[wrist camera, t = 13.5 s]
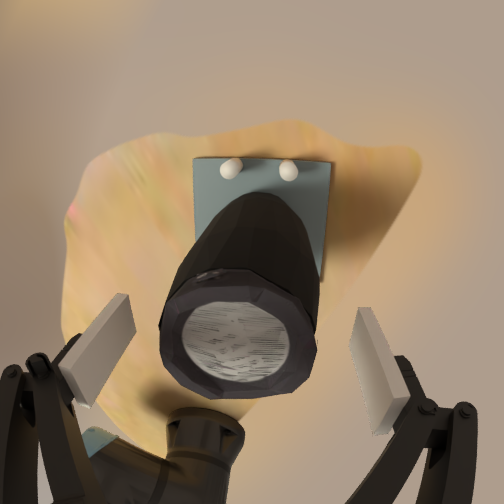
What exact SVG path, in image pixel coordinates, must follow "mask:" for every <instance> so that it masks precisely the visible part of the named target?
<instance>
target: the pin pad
mask: <svg viewBox="0 0 504 504" xmlns="http://www.w3.org/2000/svg"><path fill="white" fill-rule="evenodd" d="M330 170H331V163H330V162H319V161H305V160H289V159H265V158H194V159H193V193H194V219H195V239H196V241H197V240H198V239H199V237H200V236H201V234H202V233H203V232H204V230H205V229H206V228H207V226H208V225H209V223H210V222H211V221H212V219H213V218H214V217H215V216H216V215H217V214H218V213H219V212H220V211H221V210H222V209H223V208H224V207H226V206H227V205H228V204H229V203H230V202H231V201H233V200H234V199H236V198H238V197H239V196H241V195H243V194H246V193H250V192H263V193H271V194H273V195H276V196H279V197H280V198H281V199H282V200H283V201H284V202H285V203H286V204H287V205H288V206H289V207H290V208H291V209H292V210H293V211H294V212H295V213H296V214H297V215H298V216H299V217H300V218H301V220H302V222H303V224H304V226H305V228H306V230H307V233H308V237H309V240H310V244H311V248H312V251H313V255H314V259H315V263H316V266H317V270H318V274H319V278H320V271H321V264H322V256H323V247H324V238H325V229H326V219H327V208H328V197H329V184H330Z"/></svg>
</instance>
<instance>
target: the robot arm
mask: <svg viewBox="0 0 504 504" xmlns="http://www.w3.org/2000/svg"><path fill="white" fill-rule="evenodd" d="M135 333H136V327H135V323H134V319H133V314H132V310H131V305H130V300H129V295H128V294H121V293H117V294H116V295H115V296H114V298H113V299H112V300H111V301H110V302H109V303H108V304H107V306H106V307H105V308H104V309H103V310H102V311H101V313H100V314H99V315H98V316H97V317H96V319H95V320H94V321H93V322H92V323H91V324H90V326H89V327H88V328H87V329H86V331H85V332H84V333H83V334H80V333H78V334H77V335H75V336H74V337H72V338H71V339H70V340H69V342H68V343H67V345H65V347H64V348H63V350H61V352H60V353H59V354H58V355H57V356H56V358H55V359H54V360H53V361H52V363H50V361H49V359H48V357H47V355H46V354H44V353H35V354H33V355H31V356H30V357H28V359H27V360H26V363H25V364H26V367H27V369H28V370H29V372H30V373H27V372H23V370H22V369H21V367H20V366H19V365H15V364H13V365H10V366H8V367H6V369H4V371H3V373H2V376H1V379H0V504H38V489H37V466H38V443H39V442H40V447H41V452H42V457H43V461H44V466H45V470H46V474H47V478H48V482H49V485H50V489H51V493H52V496H53V500H54V501H53V503H52V504H226V499H227V492H228V485H229V478H230V470H231V466H232V465H233V463H234V461H235V459H236V458H237V456H238V454H239V452H240V451H241V449H242V447H243V444H244V440H245V431H244V429H243V427H242V426H241V425H240V424H239V423H238V422H237V421H236V420H234V419H232V418H231V417H229V416H227V415H224V414H222V413H219V412H216V411H212V410H208V409H202V408H183V409H179V410H176V411H174V412H172V413H171V414H170V416H169V419H168V421H167V424H166V437H167V456H166V459H163V458H161V457H158V456H156V455H154V454H152V453H149V452H147V451H145V450H143V449H140V448H138V447H136V446H134V445H132V444H130V443H128V442H126V441H125V440H123V439H121V438H119V436H118V435H113V434H111V433H109V432H107V431H105V430H103V429H101V428H99V427H90V428H88V429H87V430H86V431H85V432H84V433H83V434H82V435H81V432H80V429H79V425H78V421H77V418H76V414H75V410H74V406H73V404H72V402H71V401H72V400H73V398H74V397H75V399H76V401H77V403H78V404H79V405H81V406H85V407H87V408H91V407H92V405H93V403H94V402H95V400H96V398H97V396H98V395H99V393H100V391H101V389H102V388H103V386H104V384H105V383H106V381H107V379H108V378H109V376H110V374H111V372H112V371H113V369H114V367H115V366H116V364H117V362H118V361H119V359H120V358H121V356H122V354H123V353H124V351H125V349H126V348H127V346H128V345H129V343H130V341H131V340H132V338H133V336H134V335H135ZM349 348H350V351H351V355H352V358H353V362H354V365H355V369H356V372H357V376H358V379H359V383H360V387H361V390H362V394H363V398H364V402H365V405H366V409H367V413H368V417H369V421H370V425H371V430H372V434H373V435H381V434H388V433H389V431H390V430H391V428H392V427H393V429H394V432H395V434H394V435H393V437H392V438H391V440H390V441H389V442H388V444H387V446H386V448H385V450H384V451H383V453H382V454H381V456H380V457H379V459H378V460H377V462H376V463H375V464H374V466H373V467H372V469H371V470H370V472H369V473H368V474H367V476H366V477H365V478H364V480H363V481H362V483H361V484H360V485H359V486H358V488H357V489H356V490H355V492H354V493H353V494H352V495H351V497H350V498H349V499H348V500H347V502H346V503H345V504H392V503H393V502H394V500H395V499H396V497H397V495H398V494H399V492H400V490H401V489H402V487H403V485H404V484H405V482H406V480H407V479H408V477H409V475H410V473H411V471H412V470H413V468H414V466H415V464H416V462H417V460H418V458H419V456H420V454H421V452H422V450H423V448H428V453H427V458H426V463H425V468H424V473H423V477H422V481H421V485H420V489H419V493H418V497H417V500H416V504H471V503H472V496H473V489H474V481H475V472H476V458H477V435H478V419H477V410H476V408H475V407H474V406H473V405H472V404H471V403H468V402H459V403H457V405H456V406H455V407H454V408H453V409H451V408H440V407H438V405H437V404H436V403H435V402H434V401H433V400H431V399H428V398H426V396H425V394H424V391H423V389H422V387H421V385H420V382H419V380H418V378H417V377H416V374H415V372H414V371H413V368H412V365H411V363H410V362H409V361H408V360H407V359H406V358H405V357H404V356H403V355H401V356H393V354H392V351H391V349H390V347H389V345H388V342H387V340H386V338H385V336H384V334H383V332H382V330H381V328H380V325H379V323H378V321H377V319H376V317H375V315H374V313H373V311H372V309H371V308H368V307H367V308H365V307H364V308H360V307H359V308H358V311H357V315H356V320H355V324H354V327H353V332H352V336H351V339H350V343H349Z"/></svg>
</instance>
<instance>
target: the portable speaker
mask: <svg viewBox="0 0 504 504" xmlns="http://www.w3.org/2000/svg"><path fill="white" fill-rule="evenodd" d="M319 295H320V278H319V274H318V270H317V266H316V263H315V259H314V255H313V251H312V248H311V244H310V240H309V237H308V233H307V230H306V228H305V226H304V224H303V222H302V220H301V218H300V217H299V216H298V215H297V214H296V213H295V212H294V211H293V210H292V209H291V208H290V207H289V206H288V205H287V204H286V203H285V202H284V201H283V200H282V199H281V198H280V197H279V196H276V195H273V194H271V193H263V192H250V193H246V194H243V195H241V196H239V197H238V198H236V199H234V200H233V201H231V202H230V203H229V204H228V205H227V206H226V207H224V208H223V209H222V210H221V211H220V212H219V213H218V214H217V215H216V216H215V217H214V218H213V219H212V221H211V222H210V223H209V225H208V226H207V228H206V229H205V230H204V232H203V233H202V234H201V236H200V237H199V239H198V240H197V241H196V243H195V244H194V246H193V247H192V248H191V250H190V251H189V253H188V254H187V256H186V257H185V259H184V260H183V262H182V263H181V265H180V266H179V268H178V271H177V273H176V276H175V278H174V281H173V284H172V286H171V289H170V292H169V294H168V297H167V300H166V302H165V306H164V309H163V312H162V315H161V318H160V321H159V325H158V326H159V330H160V355H161V358H162V362H163V365H164V367H165V368H166V369H167V370H168V371H169V373H170V374H171V375H172V376H173V377H174V378H175V379H176V381H177V382H178V383H179V384H180V385H182V386H184V387H186V388H187V389H189V390H191V391H193V392H195V393H197V394H200V395H202V396H204V397H206V398H208V399H210V400H211V399H254V398H261V397H267V396H273V395H279V394H287V393H292V392H293V391H295V389H297V388H298V387H299V386H300V385H301V384H302V383H303V382H305V381H306V380H307V379H308V378H309V376H310V373H311V370H312V367H313V363H314V360H315V356H316V353H317V346H316V342H315V337H314V335H315V331H316V325H317V316H318V306H319Z"/></svg>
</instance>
